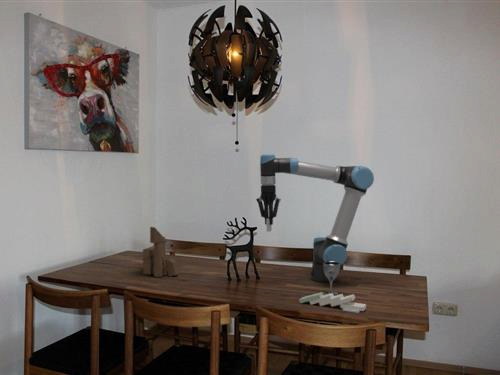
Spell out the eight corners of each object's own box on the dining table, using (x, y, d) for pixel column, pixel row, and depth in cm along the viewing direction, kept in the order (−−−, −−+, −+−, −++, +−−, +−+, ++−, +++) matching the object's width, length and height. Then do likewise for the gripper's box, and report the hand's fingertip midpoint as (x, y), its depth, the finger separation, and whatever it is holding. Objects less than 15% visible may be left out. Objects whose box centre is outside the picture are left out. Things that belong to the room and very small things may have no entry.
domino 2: (309, 301, 205) (329, 295, 201) (312, 298, 210) (332, 292, 205) (310, 304, 205) (331, 299, 201) (314, 301, 209) (334, 296, 205)
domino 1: (299, 299, 207) (319, 294, 203) (302, 297, 212) (322, 292, 207) (300, 303, 207) (320, 298, 203) (303, 300, 211) (323, 295, 207)
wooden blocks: (171, 280, 247) (171, 228, 246) (137, 277, 253) (138, 226, 251) (189, 270, 270) (189, 223, 269) (158, 268, 276) (158, 221, 275)
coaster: (347, 305, 204) (347, 304, 204) (362, 307, 201) (362, 306, 201) (342, 310, 197) (342, 309, 197) (358, 312, 194) (358, 311, 194)
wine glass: (337, 291, 228) (337, 261, 227) (340, 295, 220) (341, 264, 219) (321, 291, 228) (321, 261, 227) (324, 295, 220) (325, 264, 219)
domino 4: (330, 303, 201) (351, 296, 197) (333, 300, 205) (353, 294, 201) (331, 306, 201) (352, 300, 196) (334, 303, 205) (355, 297, 201)
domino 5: (340, 304, 199) (363, 307, 195) (343, 301, 203) (366, 304, 199) (340, 307, 199) (363, 311, 195) (343, 304, 203) (366, 307, 199)
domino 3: (318, 302, 203) (339, 296, 199) (322, 299, 208) (342, 293, 203) (320, 306, 203) (340, 300, 199) (323, 303, 207) (343, 297, 203)
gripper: (253, 185, 232) (254, 231, 233) (276, 185, 226) (277, 232, 227) (259, 184, 239) (260, 229, 240) (282, 184, 233) (283, 230, 233)
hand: (269, 231), depth 233 cm, fingers closed
